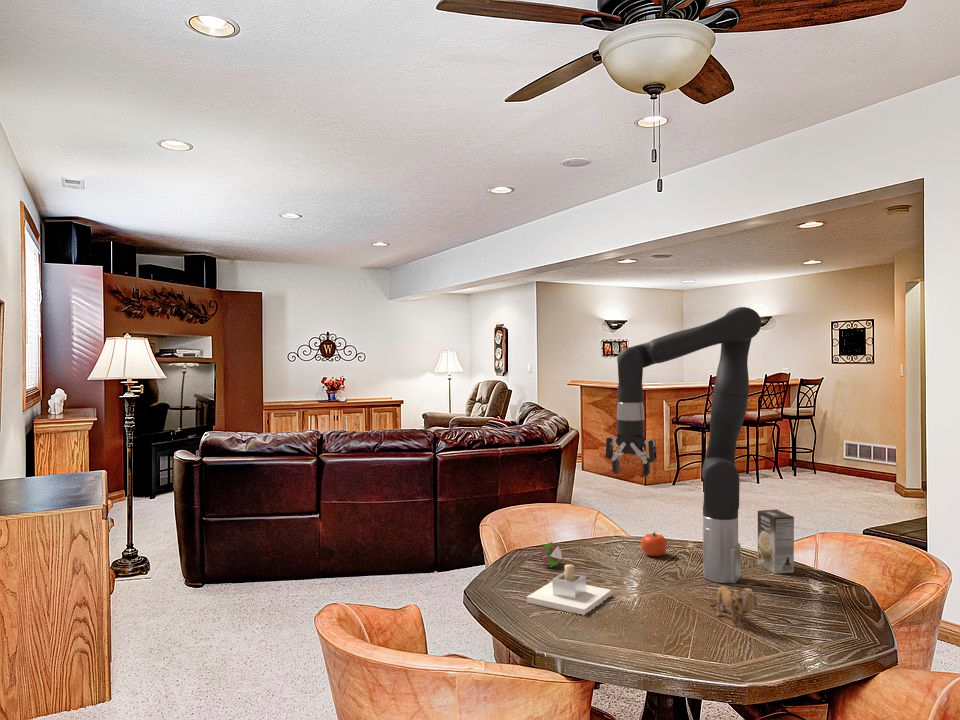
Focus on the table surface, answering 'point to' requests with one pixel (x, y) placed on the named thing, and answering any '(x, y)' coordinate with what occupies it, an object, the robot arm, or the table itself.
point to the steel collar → (569, 586)
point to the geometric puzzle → (551, 554)
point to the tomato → (654, 544)
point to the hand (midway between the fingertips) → (630, 475)
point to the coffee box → (776, 541)
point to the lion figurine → (735, 602)
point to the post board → (578, 605)
